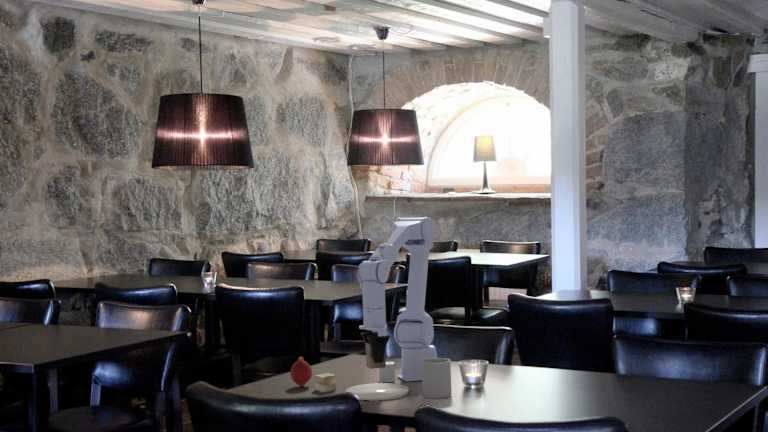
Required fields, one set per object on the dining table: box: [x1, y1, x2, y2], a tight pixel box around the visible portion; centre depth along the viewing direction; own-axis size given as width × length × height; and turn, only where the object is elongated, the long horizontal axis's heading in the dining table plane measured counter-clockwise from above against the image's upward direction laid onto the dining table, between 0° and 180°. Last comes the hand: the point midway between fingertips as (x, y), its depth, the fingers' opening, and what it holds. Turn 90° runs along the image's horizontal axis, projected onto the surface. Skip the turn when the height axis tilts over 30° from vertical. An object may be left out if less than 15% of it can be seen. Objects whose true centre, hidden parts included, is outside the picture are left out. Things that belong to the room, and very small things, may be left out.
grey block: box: [378, 361, 396, 383], centre depth 267 cm, size 4×4×5 cm
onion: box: [290, 356, 313, 388], centre depth 263 cm, size 6×6×8 cm
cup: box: [421, 357, 452, 400], centre depth 247 cm, size 7×10×9 cm
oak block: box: [314, 372, 337, 393], centre depth 258 cm, size 4×4×4 cm
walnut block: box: [365, 343, 387, 370], centre depth 250 cm, size 4×4×6 cm
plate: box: [345, 382, 410, 402], centre depth 251 cm, size 16×16×1 cm
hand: (376, 361), depth 250 cm, fingers closed on walnut block, 4 cm apart
